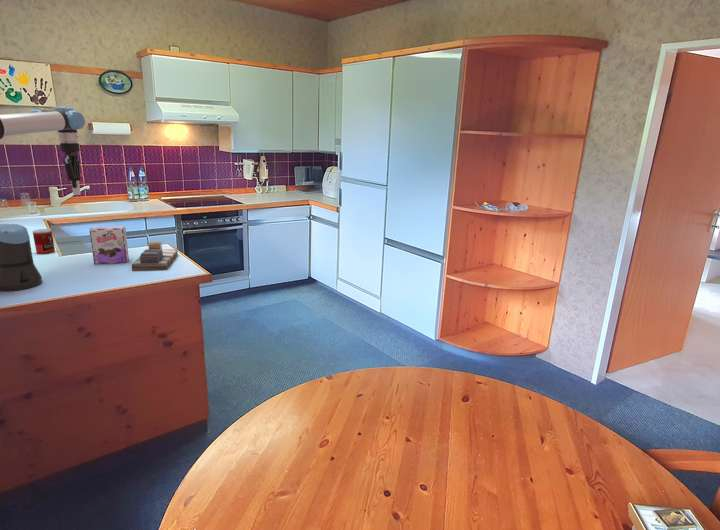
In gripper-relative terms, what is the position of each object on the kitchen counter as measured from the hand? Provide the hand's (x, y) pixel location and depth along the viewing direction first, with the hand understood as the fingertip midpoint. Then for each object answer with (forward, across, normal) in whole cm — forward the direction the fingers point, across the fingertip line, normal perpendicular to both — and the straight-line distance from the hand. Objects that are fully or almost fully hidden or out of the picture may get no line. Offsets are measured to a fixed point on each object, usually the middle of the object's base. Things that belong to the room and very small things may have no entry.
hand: (77, 194), depth 213 cm
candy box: (+30, -14, -16) cm, 37 cm away
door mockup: (+29, -17, -36) cm, 49 cm away
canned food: (+30, +8, +21) cm, 37 cm away
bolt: (+26, -19, -36) cm, 48 cm away
